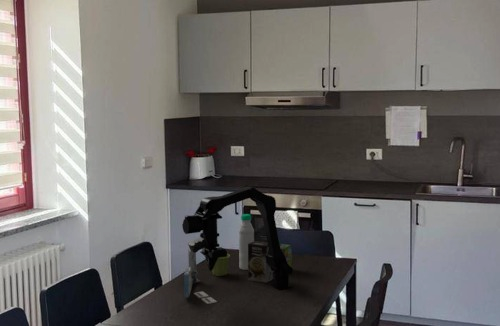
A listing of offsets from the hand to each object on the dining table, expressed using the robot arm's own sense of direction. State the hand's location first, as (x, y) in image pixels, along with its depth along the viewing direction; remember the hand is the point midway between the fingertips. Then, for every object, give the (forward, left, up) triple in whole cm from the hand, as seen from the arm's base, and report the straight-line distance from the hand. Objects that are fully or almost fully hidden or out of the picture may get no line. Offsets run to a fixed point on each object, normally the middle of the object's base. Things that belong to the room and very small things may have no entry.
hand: (210, 270), depth 241 cm
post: (+27, -3, -12) cm, 30 cm away
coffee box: (+15, -29, -12) cm, 35 cm away
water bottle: (+34, -32, -12) cm, 48 cm away
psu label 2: (0, +1, -12) cm, 12 cm away
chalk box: (+23, -43, -12) cm, 51 cm away
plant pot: (+31, -17, -12) cm, 38 cm away
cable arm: (+15, +3, -11) cm, 19 cm away
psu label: (+8, +1, -12) cm, 14 cm away
